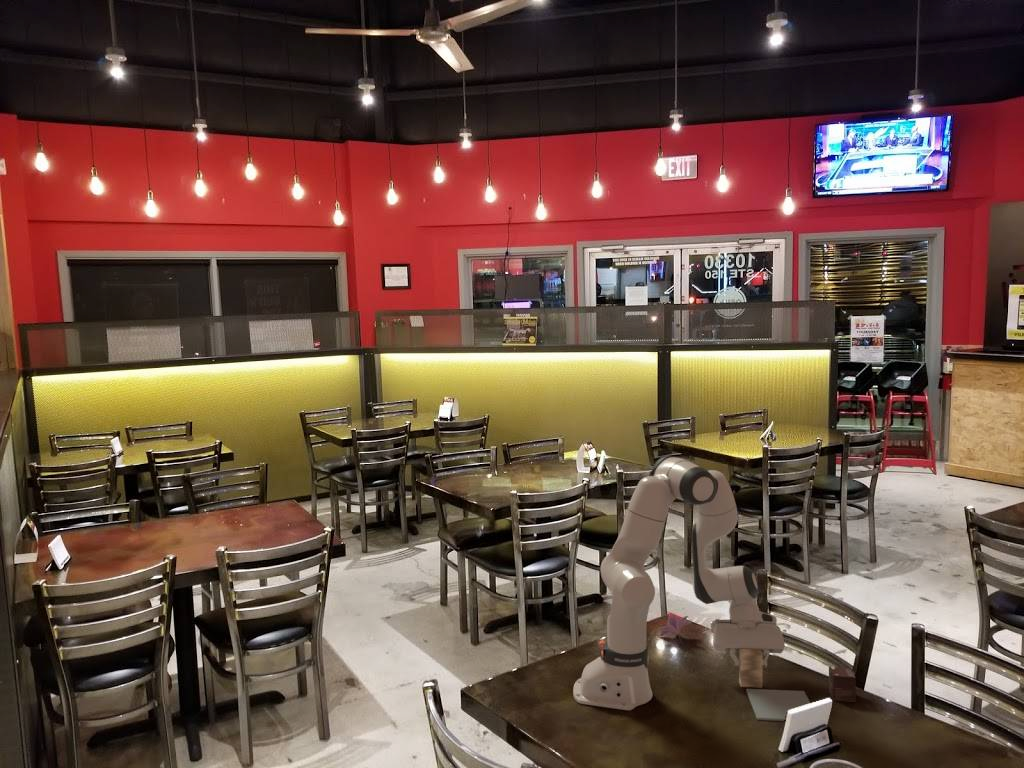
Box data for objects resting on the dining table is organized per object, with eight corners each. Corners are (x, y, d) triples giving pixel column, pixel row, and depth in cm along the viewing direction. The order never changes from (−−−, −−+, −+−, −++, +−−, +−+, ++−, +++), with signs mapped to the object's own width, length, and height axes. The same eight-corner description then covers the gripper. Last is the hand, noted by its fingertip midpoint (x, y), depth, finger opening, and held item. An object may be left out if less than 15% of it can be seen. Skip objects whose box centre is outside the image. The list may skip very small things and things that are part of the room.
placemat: (757, 719, 200) (757, 717, 200) (746, 690, 216) (746, 688, 215) (819, 722, 198) (819, 720, 198) (803, 693, 214) (804, 691, 213)
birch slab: (740, 686, 218) (741, 653, 217) (739, 681, 221) (739, 649, 220) (762, 687, 217) (762, 654, 216) (760, 682, 220) (760, 649, 219)
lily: (698, 640, 253) (688, 611, 256) (698, 640, 242) (688, 610, 246) (663, 650, 254) (654, 621, 258) (663, 650, 243) (653, 620, 247)
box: (855, 702, 208) (856, 677, 207) (832, 701, 209) (833, 675, 208) (850, 692, 214) (851, 667, 213) (828, 690, 215) (828, 665, 214)
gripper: (711, 614, 225) (715, 660, 217) (781, 617, 223) (789, 663, 214) (709, 623, 230) (713, 668, 221) (777, 625, 228) (785, 671, 219)
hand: (751, 666), depth 218 cm, fingers closed on birch slab, 6 cm apart
